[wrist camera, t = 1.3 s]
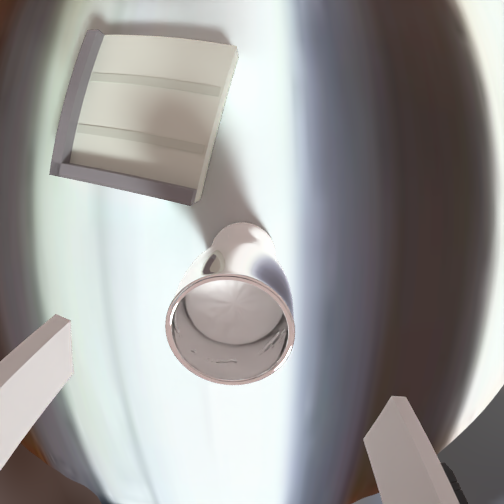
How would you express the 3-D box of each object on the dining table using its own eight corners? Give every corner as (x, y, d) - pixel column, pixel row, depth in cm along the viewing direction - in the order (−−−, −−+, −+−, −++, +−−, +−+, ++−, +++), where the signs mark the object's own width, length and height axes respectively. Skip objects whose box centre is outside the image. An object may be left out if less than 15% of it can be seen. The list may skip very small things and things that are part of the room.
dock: (74, 172, 28) (49, 174, 23) (107, 44, 24) (87, 30, 20) (200, 199, 28) (190, 205, 24) (238, 57, 25) (235, 39, 20)
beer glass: (291, 233, 29) (323, 300, 15) (262, 298, 31) (266, 402, 16) (221, 205, 28) (183, 246, 14) (196, 272, 30) (148, 361, 16)
